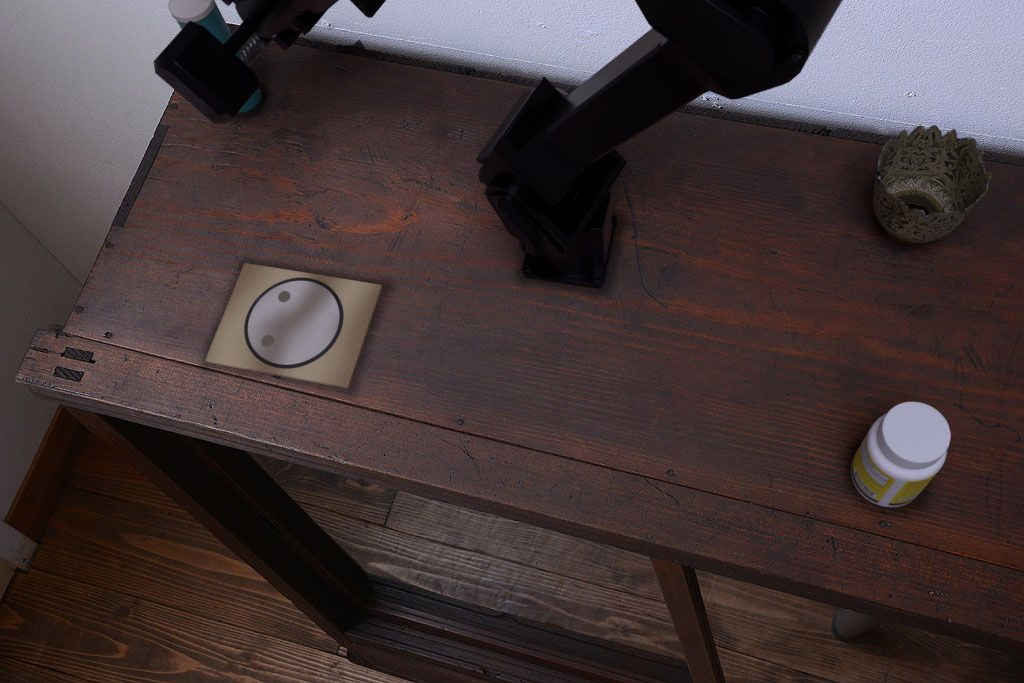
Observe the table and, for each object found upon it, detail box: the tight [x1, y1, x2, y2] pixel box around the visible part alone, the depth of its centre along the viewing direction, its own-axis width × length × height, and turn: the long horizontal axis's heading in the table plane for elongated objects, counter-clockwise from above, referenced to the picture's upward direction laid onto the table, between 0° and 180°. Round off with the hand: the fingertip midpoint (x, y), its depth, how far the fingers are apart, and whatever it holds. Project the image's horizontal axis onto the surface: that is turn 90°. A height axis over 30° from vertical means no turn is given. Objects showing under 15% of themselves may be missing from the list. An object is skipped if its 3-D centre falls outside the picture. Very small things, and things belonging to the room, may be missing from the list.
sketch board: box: [204, 262, 383, 390], centre depth 77 cm, size 12×9×1 cm
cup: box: [872, 124, 993, 246], centre depth 71 cm, size 8×7×8 cm
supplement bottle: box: [850, 401, 952, 508], centre depth 63 cm, size 5×5×8 cm
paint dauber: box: [167, 0, 264, 118], centre depth 82 cm, size 4×4×12 cm
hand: (235, 35), depth 77 cm, fingers open, 9 cm apart
